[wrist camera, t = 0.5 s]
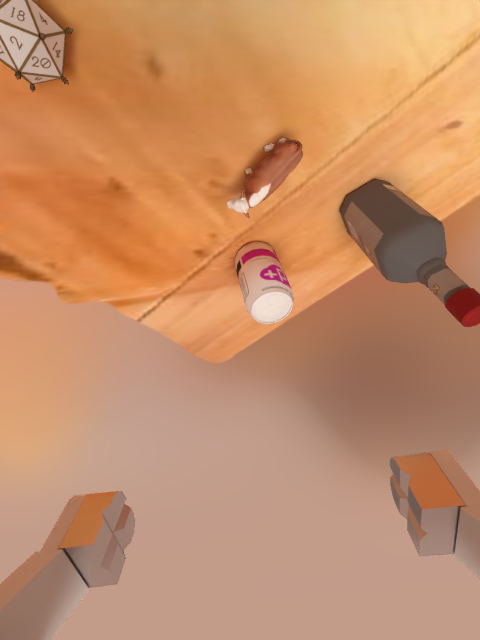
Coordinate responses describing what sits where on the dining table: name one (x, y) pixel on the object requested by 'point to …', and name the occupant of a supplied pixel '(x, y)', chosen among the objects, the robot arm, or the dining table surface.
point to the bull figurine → (267, 174)
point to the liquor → (407, 245)
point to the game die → (31, 42)
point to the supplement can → (263, 283)
